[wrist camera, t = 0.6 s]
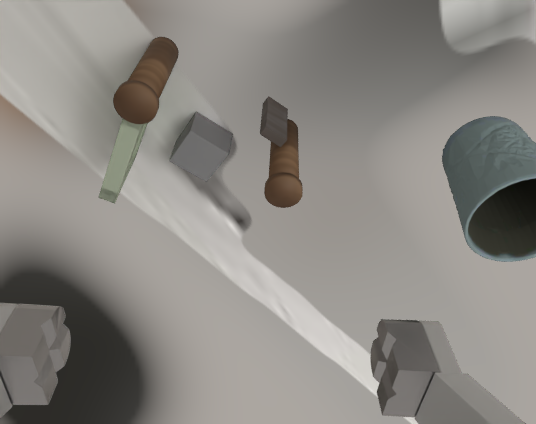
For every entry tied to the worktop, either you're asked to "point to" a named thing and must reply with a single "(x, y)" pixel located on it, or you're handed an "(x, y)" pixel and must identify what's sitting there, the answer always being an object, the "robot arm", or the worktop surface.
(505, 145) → the teal cup
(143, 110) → the hinge post
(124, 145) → the block
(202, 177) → the rubber block
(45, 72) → the worktop surface
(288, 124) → the post
